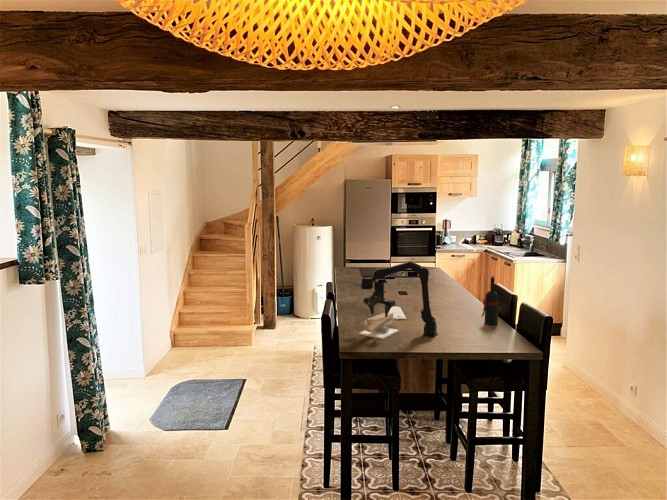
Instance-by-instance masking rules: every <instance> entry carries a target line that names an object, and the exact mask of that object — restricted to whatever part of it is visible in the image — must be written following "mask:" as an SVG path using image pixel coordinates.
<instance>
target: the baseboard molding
mask: <svg viewBox="0 0 667 500" xmlns="http://www.w3.org/2000/svg"><path fill="white" fill-rule="evenodd" d="M389 312H392V313H393V321H400V320H399V319H409V318H408V317H407V316H406V315H405V314H404V311H403V310H402V308H401V307H400V306H393V307H391V309H390V311H389Z"/></svg>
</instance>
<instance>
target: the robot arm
mask: <svg viewBox="0 0 667 500" xmlns="http://www.w3.org/2000/svg"><path fill="white" fill-rule="evenodd" d="M406 270H411V271H413V272H415V273H416V274H418V277H419V280H420V283H421V292H422V293H421V294H422V295H421V296H422V308H420V318H421V319H422V322H423V323H424V326H423V334H422V335H423V336H426V337H430V338H431V337H432V338H434V337H436V336H437V335H439V333H437V329H438V328H437V327H438V325H437V321H436V318H435V317H434V316H433V313H432V309H431V306H430V296H429V277H430V272H429V268H428V267H427V266H425V265H422V266H421V265H420V264H418V263H416V262H414V261H412V260H409V261H407V262H403V263H399V264H396V265H392V266H387V267H386V266H383V267H377V268H376V269H375V270H374V272H373V276H371V277H362V278H361V286H360V287H361V290H366V291H367V290H369V291H370V290H372V289H374V290H373V291H372V295H371V296H366V297H364V298H363V303H364V305H366V306H368V308H369V311H370V314H371V316H373V315H374V313H375V306H376V305H378V304H381V305H384V307H383V308H384V313H385V317H387V315H388V313H389V311H390V309H391V307H396V301H395V300H392V299H388V300H386V297H385V293H386V291H385V284H388V280H387V279H386V277H388V276H389V275H392V274H395V273H398V272H402V271H406Z"/></svg>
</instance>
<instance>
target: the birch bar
mask: <svg viewBox="0 0 667 500" xmlns="http://www.w3.org/2000/svg"><path fill="white" fill-rule="evenodd" d="M393 323H394V320H393V313H392V312H389V313H388V315H387V317H385V312H382V313H380V314H378V315H375V316H372V317H369V318H367V319H365V320H364V331H368V332H373V331H375V330H377V329H379V328H382V327H387V326H388V325H391V324H393Z"/></svg>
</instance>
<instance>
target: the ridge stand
mask: <svg viewBox="0 0 667 500" xmlns="http://www.w3.org/2000/svg"><path fill="white" fill-rule="evenodd" d="M399 332H400V329H395V328H390V327H387V326H384V327H382V328H379V329H377V330H375V331H373V332H368V331H365V330H362V331H360V332H358V333H359V334H358V335H360V336H365V337H369V338H375V339H378V340H379V339H380V340H385V339H387V338H388V337H390V336H394V335H395V334H397V333H399Z"/></svg>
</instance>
